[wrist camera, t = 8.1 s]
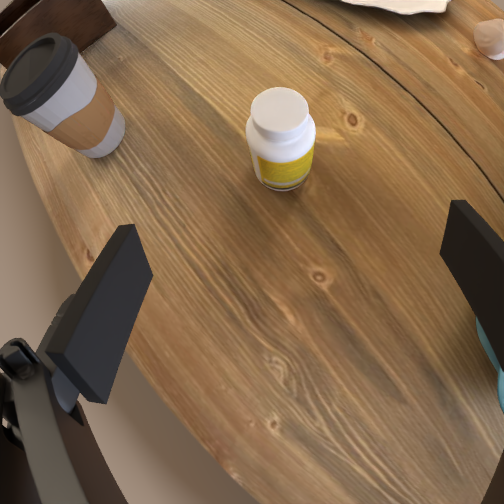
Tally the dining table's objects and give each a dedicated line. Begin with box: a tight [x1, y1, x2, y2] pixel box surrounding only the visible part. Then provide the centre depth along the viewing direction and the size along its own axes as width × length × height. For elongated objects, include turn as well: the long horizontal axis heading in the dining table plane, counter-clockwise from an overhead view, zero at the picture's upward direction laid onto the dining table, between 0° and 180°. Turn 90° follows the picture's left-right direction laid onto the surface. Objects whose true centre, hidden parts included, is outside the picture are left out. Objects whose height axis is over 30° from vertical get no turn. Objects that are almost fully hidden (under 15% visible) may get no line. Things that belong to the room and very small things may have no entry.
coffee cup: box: [0, 33, 125, 158], centre depth 26 cm, size 8×8×15 cm
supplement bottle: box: [246, 87, 316, 191], centre depth 25 cm, size 5×5×10 cm
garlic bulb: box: [473, 19, 504, 60], centre depth 26 cm, size 7×6×8 cm
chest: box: [0, 0, 116, 69], centre depth 32 cm, size 17×14×13 cm
